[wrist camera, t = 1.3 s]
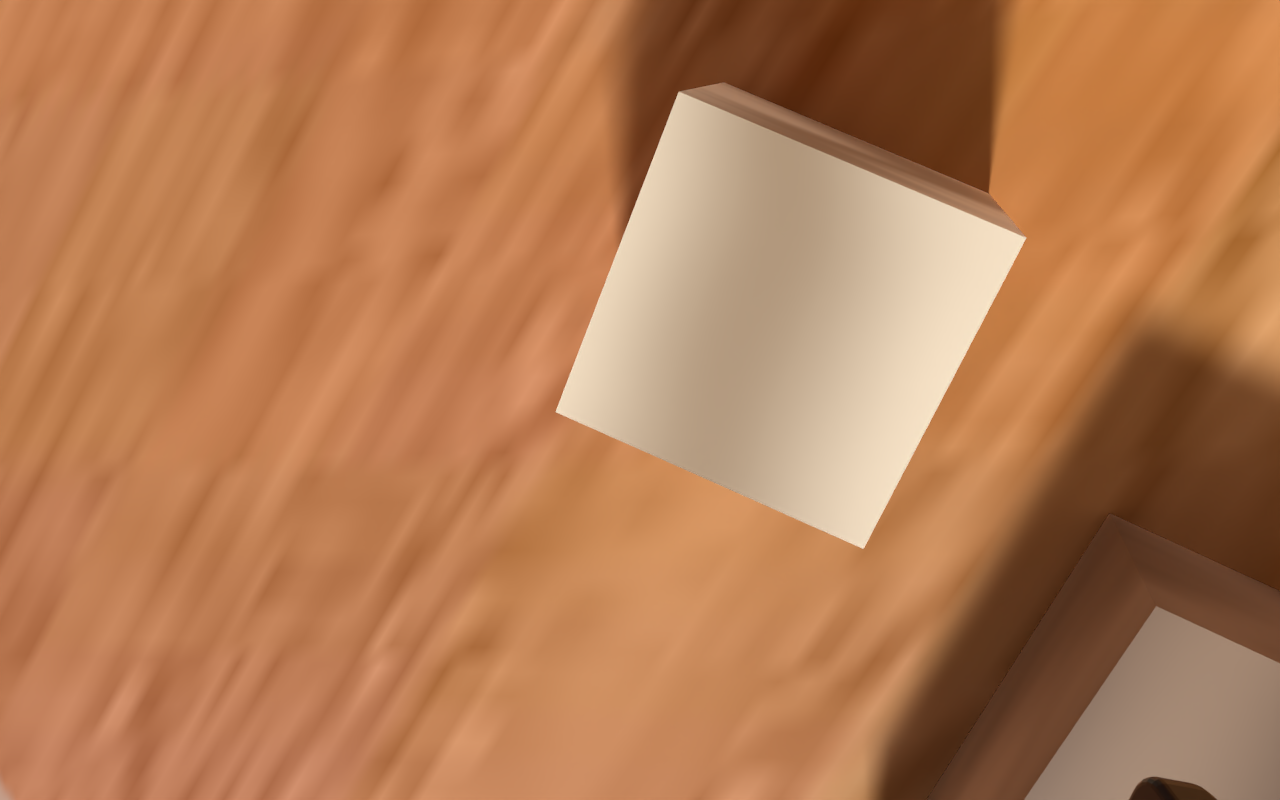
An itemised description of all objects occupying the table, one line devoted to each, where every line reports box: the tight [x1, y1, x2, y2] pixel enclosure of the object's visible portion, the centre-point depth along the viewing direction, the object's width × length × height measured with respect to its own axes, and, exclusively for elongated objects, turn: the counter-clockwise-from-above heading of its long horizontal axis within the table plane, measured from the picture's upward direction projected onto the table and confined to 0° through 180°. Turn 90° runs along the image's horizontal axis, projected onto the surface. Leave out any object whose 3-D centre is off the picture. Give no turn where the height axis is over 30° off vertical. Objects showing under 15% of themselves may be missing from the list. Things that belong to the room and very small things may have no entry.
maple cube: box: [556, 82, 1026, 549], centre depth 18 cm, size 5×5×5 cm
